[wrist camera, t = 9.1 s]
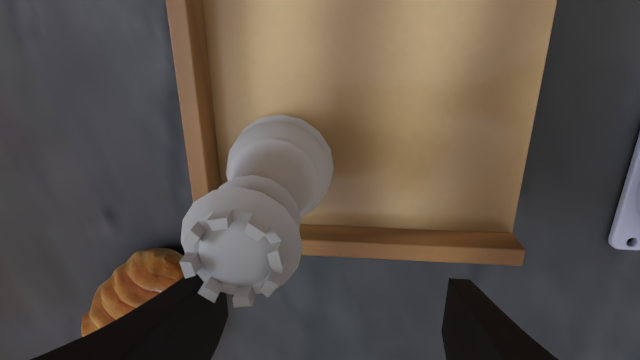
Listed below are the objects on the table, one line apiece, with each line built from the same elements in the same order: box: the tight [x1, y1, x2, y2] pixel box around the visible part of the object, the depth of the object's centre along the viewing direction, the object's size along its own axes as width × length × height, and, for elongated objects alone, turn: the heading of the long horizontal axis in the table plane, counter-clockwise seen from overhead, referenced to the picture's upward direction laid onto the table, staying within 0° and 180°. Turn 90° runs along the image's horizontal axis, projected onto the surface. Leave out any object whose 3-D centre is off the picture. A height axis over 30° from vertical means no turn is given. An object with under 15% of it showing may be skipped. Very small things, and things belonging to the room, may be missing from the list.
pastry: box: [81, 248, 184, 337], centre depth 24 cm, size 9×7×4 cm
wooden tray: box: [165, 0, 557, 266], centre depth 16 cm, size 14×16×6 cm
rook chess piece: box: [179, 114, 334, 308], centre depth 13 cm, size 4×4×8 cm
